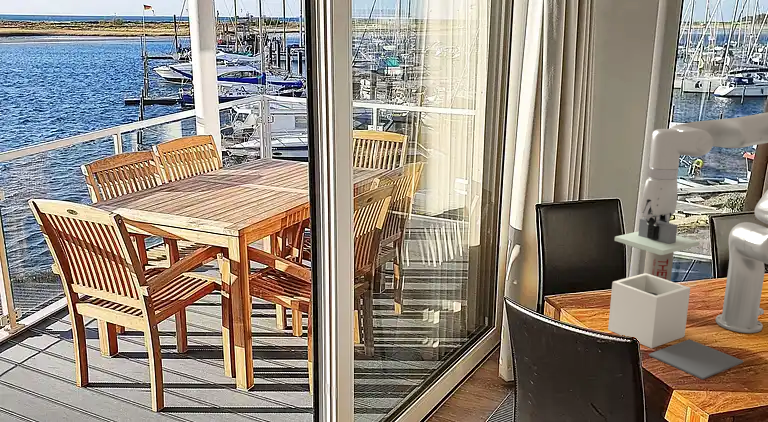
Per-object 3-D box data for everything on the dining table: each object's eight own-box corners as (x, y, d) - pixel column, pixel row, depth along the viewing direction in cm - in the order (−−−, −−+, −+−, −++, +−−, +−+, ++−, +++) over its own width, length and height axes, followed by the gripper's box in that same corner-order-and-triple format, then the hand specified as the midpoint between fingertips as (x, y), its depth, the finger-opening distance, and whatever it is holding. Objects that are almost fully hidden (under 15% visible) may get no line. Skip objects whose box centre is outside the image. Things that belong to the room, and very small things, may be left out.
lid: (649, 235, 206) (652, 212, 204) (698, 248, 192) (701, 224, 191) (614, 244, 197) (616, 219, 195) (662, 258, 184) (665, 232, 182)
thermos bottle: (667, 316, 213) (676, 230, 206) (639, 313, 216) (648, 227, 209) (667, 307, 220) (676, 223, 214) (640, 304, 223) (649, 221, 217)
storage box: (640, 319, 211) (645, 273, 208) (684, 336, 199) (690, 287, 195) (608, 329, 203) (612, 281, 200) (651, 348, 191) (656, 297, 188)
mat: (689, 340, 196) (689, 339, 196) (743, 362, 183) (743, 360, 183) (648, 355, 187) (648, 353, 187) (702, 379, 174) (702, 377, 174)
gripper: (669, 168, 197) (663, 230, 202) (632, 174, 189) (626, 239, 193) (693, 173, 191) (686, 236, 195) (655, 179, 182) (649, 245, 187)
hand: (656, 237), depth 194 cm, fingers closed on lid, 3 cm apart
